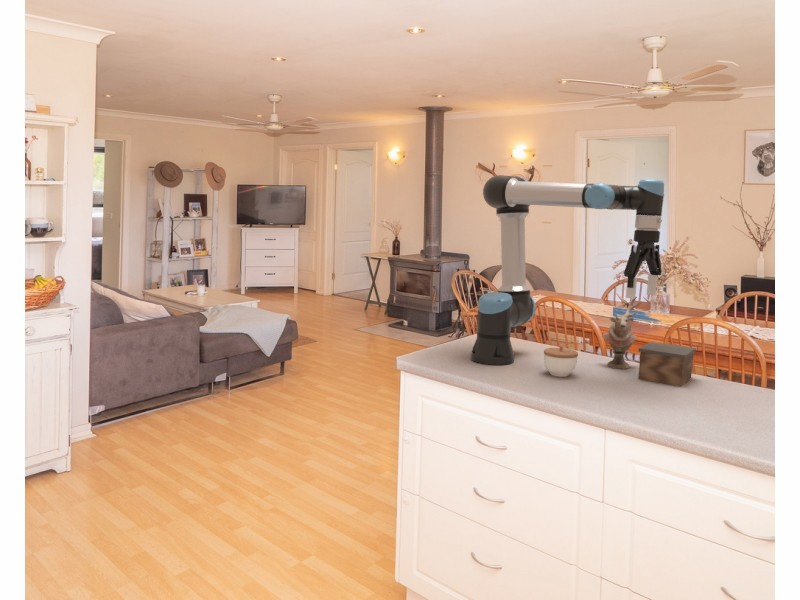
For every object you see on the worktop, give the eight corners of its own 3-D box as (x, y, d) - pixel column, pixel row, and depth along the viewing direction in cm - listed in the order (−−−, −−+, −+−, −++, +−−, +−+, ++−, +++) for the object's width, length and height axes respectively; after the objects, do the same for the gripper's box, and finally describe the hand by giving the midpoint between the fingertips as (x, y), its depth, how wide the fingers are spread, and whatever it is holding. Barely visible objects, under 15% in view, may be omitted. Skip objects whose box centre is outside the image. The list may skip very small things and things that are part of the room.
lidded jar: (549, 368, 215) (551, 341, 213) (581, 373, 209) (582, 346, 207) (537, 374, 206) (539, 346, 204) (569, 380, 200) (571, 351, 198)
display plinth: (636, 378, 204) (638, 348, 203) (649, 370, 215) (651, 341, 214) (682, 387, 196) (685, 355, 194) (693, 378, 207) (696, 348, 205)
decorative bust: (618, 370, 210) (624, 294, 210) (596, 365, 222) (601, 294, 222) (646, 371, 213) (651, 297, 213) (622, 367, 225) (627, 297, 225)
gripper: (639, 230, 188) (632, 301, 191) (676, 230, 204) (670, 295, 208) (616, 229, 193) (610, 297, 196) (654, 228, 210) (648, 292, 213)
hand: (641, 296), depth 202 cm, fingers open, 13 cm apart
